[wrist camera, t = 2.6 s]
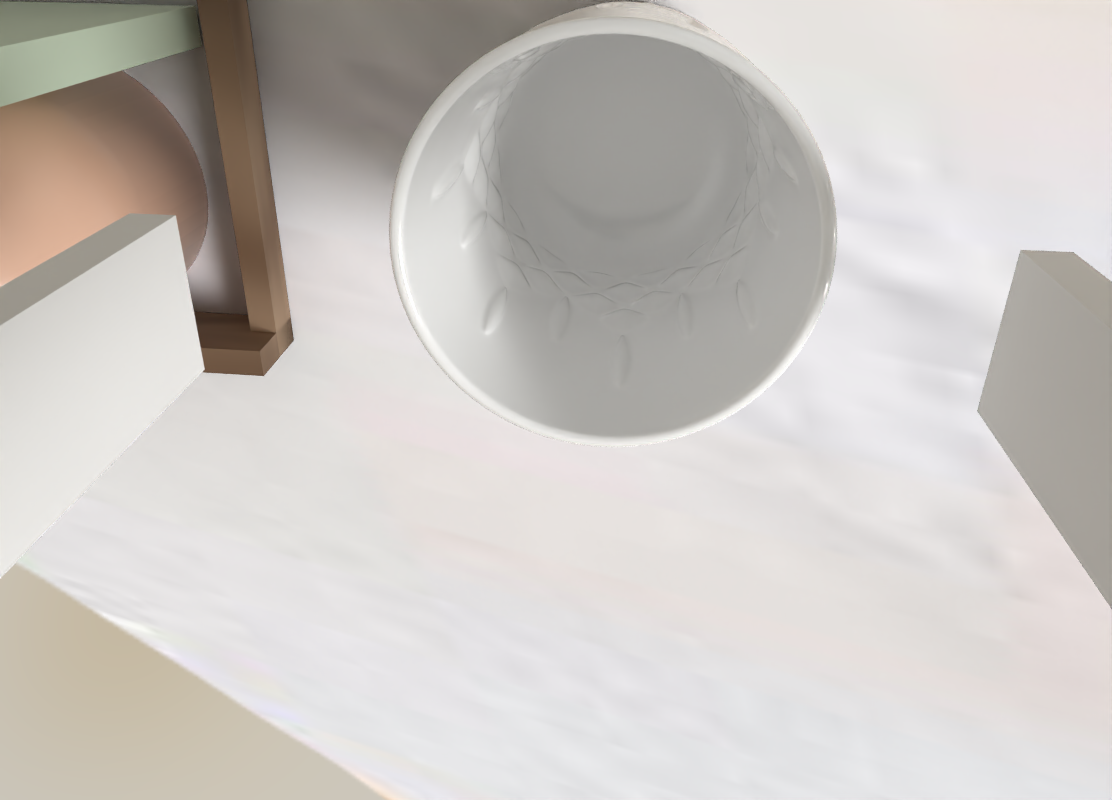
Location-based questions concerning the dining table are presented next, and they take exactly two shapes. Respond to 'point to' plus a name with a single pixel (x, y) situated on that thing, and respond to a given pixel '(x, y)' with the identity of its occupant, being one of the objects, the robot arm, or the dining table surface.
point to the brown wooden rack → (244, 202)
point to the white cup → (613, 228)
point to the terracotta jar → (92, 170)
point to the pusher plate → (84, 42)
